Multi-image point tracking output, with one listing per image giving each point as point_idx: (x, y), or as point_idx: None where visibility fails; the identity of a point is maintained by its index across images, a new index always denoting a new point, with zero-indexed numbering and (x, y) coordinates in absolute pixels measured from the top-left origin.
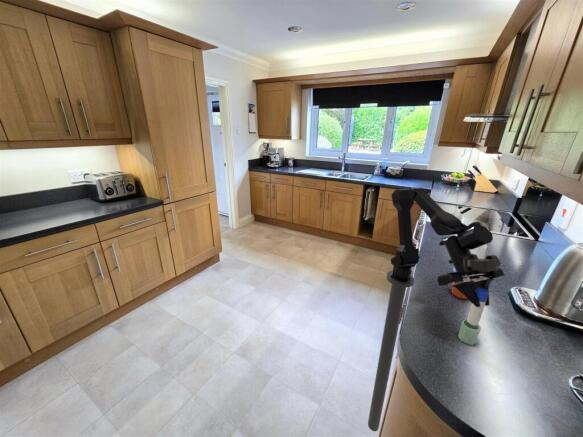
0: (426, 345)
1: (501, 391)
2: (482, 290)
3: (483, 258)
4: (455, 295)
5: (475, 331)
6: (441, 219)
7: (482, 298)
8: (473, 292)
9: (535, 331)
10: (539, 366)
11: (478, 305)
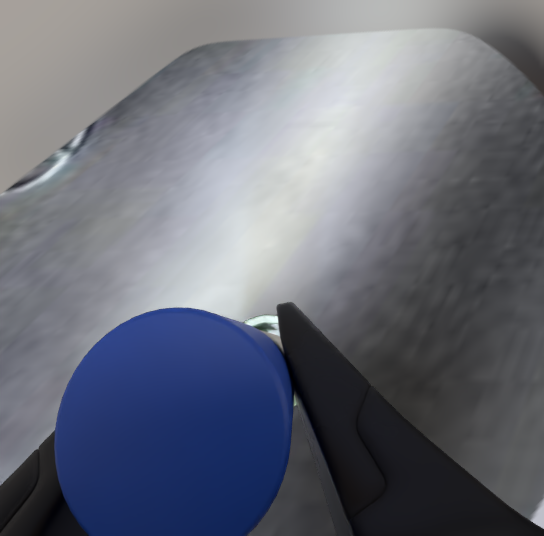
0: (498, 318)
1: (312, 131)
2: (174, 431)
3: None
4: None
5: (275, 316)
6: None
7: (245, 324)
8: (371, 422)
9: None
10: (92, 222)
11: (296, 310)
